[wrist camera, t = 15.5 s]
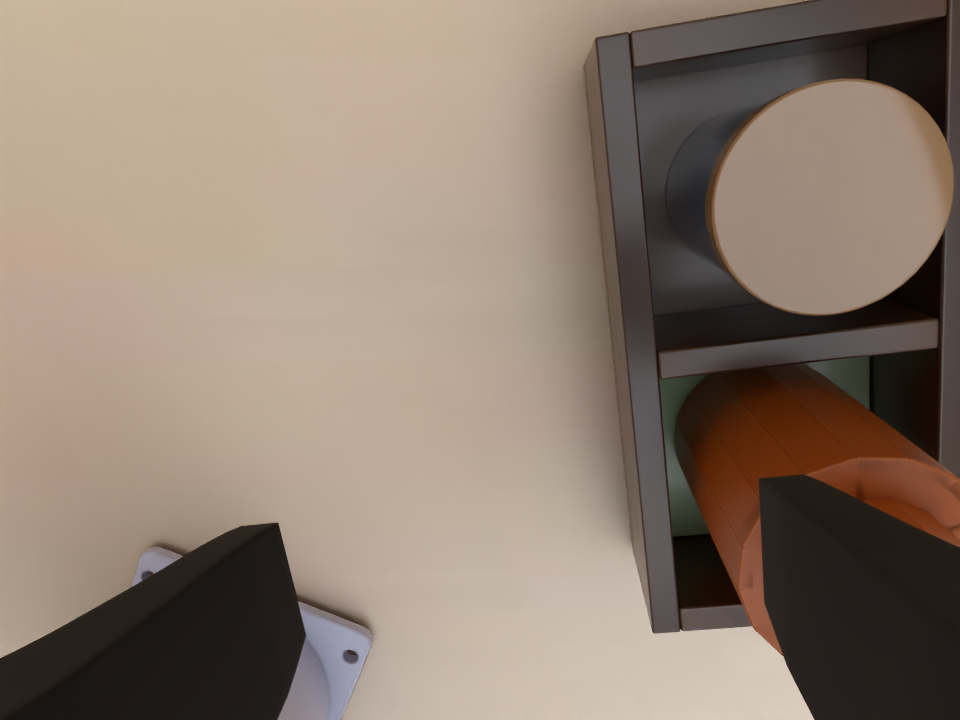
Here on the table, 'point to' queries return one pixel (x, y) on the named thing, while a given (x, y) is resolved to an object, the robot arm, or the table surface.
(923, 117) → the blue jar
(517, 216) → the table surface
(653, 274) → the divided storage box
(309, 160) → the table surface
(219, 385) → the table surface
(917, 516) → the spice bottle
